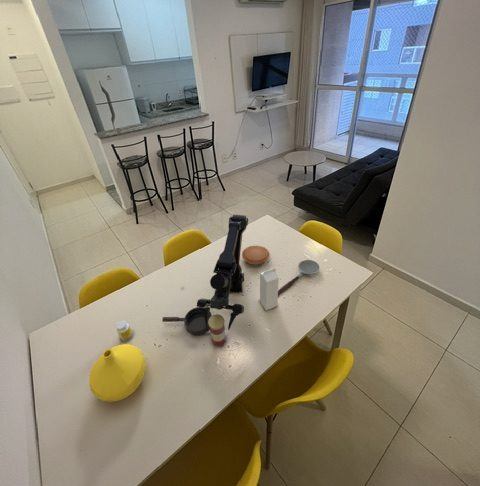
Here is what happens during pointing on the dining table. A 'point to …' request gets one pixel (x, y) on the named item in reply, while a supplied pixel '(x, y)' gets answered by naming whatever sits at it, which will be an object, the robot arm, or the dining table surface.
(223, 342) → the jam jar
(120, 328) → the supplement bottle
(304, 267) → the spoon
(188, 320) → the pan
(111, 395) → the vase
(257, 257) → the pie
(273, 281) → the milk
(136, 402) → the dining table surface
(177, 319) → the pan handle
